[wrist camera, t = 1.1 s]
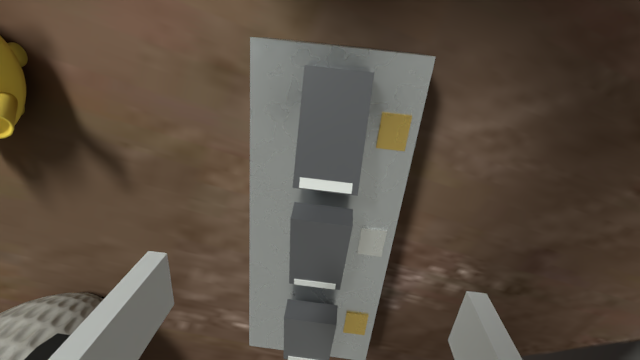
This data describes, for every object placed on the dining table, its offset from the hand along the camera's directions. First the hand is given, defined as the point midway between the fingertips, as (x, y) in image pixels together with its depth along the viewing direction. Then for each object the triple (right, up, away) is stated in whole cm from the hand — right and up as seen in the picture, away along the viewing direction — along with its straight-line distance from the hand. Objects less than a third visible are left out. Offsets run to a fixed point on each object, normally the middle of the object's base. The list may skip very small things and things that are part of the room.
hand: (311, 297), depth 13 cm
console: (+1, +1, +22) cm, 23 cm away
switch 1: (+1, +8, +11) cm, 14 cm away
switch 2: (0, -2, +16) cm, 16 cm away
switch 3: (-1, -11, +20) cm, 24 cm away
